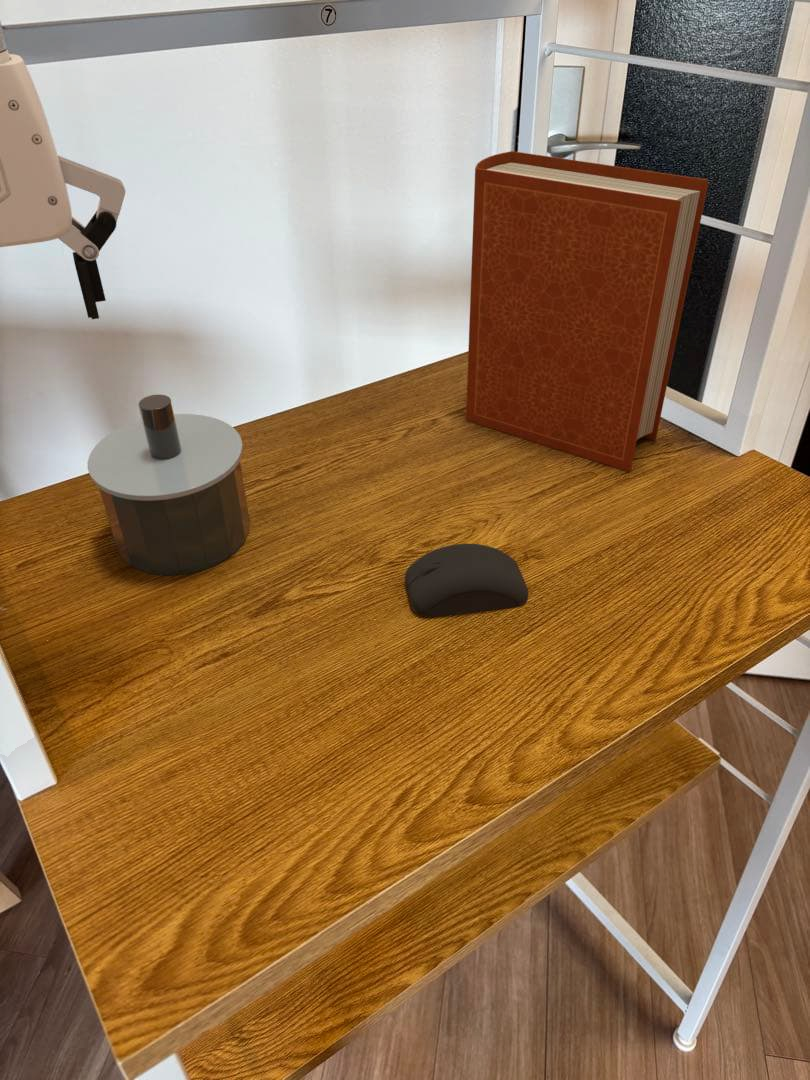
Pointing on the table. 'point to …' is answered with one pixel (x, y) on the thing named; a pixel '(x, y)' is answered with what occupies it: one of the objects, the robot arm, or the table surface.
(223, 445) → the lid
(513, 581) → the computer mouse
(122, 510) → the tin
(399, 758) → the table surface
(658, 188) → the book
